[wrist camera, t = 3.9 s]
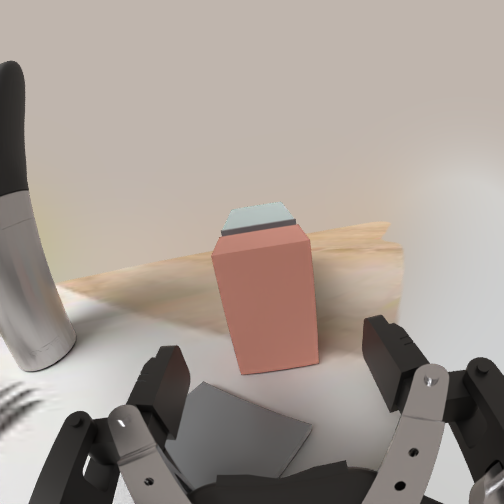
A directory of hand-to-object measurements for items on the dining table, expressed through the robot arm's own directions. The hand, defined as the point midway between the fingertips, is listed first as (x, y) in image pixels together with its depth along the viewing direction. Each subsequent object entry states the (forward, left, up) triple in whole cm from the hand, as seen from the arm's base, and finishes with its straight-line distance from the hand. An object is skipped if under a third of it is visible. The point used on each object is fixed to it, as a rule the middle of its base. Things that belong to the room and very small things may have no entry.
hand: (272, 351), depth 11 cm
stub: (-4, +6, -6) cm, 9 cm away
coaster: (-3, -4, -6) cm, 7 cm away
